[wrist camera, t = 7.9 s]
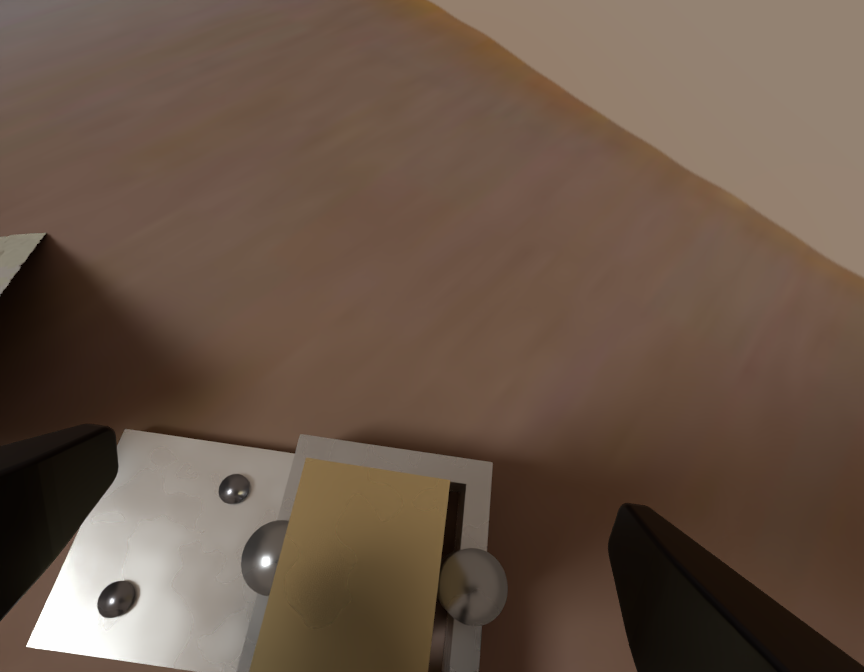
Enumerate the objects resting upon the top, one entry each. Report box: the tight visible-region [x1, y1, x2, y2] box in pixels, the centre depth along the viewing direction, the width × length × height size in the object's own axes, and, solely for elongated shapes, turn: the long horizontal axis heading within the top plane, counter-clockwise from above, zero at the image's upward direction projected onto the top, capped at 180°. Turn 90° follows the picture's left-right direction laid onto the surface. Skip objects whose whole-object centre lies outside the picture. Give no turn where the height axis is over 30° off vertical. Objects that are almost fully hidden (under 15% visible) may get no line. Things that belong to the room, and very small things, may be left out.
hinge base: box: [26, 429, 508, 672], centre depth 17 cm, size 17×9×3 cm, turn 82°
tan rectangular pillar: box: [249, 458, 450, 672], centre depth 14 cm, size 4×4×10 cm
